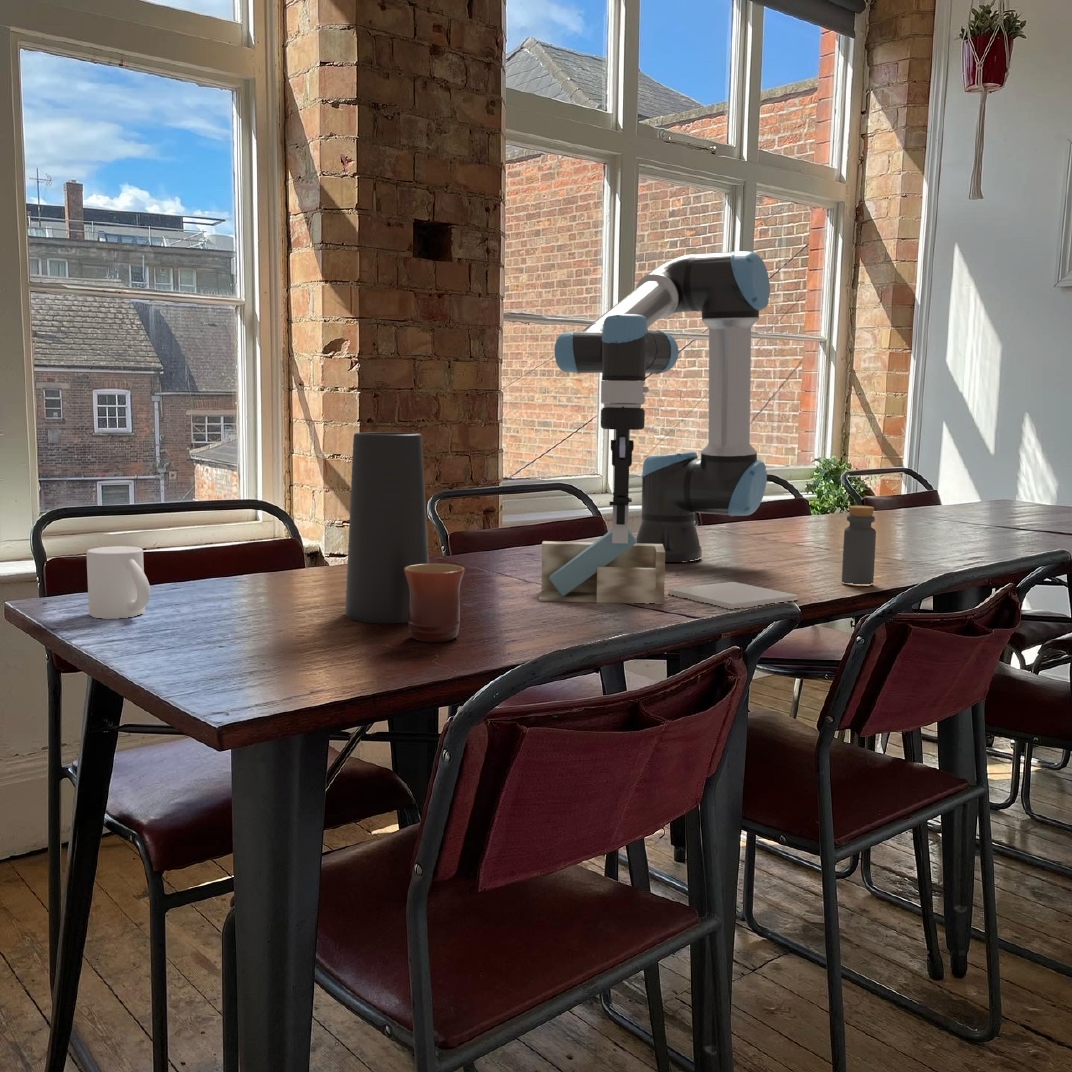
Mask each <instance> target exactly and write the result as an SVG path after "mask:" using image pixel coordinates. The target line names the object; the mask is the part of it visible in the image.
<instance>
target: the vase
mask: <svg viewBox="0 0 1072 1072" xmlns="http://www.w3.org/2000/svg"><path fill="white" fill-rule="evenodd" d="M351 464H352V466H351V482H350V483H351V485H350V487H351V488H350V500H349V501H350V505H349V527H348V545H347V546H348V548H347V549H348V550H347V567H346V591H345V594H346V595H345V617H346V618H347V619H348V620H352V621H354V622H359V623H369V624H404V623H408V608H409V588H408V583H407V580H406V576H405V573H404V568H405V567H407V566H411V565H418V564H430V558H429V540H428V538H429V537H428V523H427V507H426V506H427V505H426V489H425V485H426V484H425V483H426V482H425V471H424V470H425V469H424V468H425V467H424V451H423V436H422V434H421V433H416V432H396V431H395V432H392V431H391V432H387V431H386V432H385V431H384V432H379V431H378V432H377V431H375V432H372V431H371V432H370V431H368V432H356V433H354V434H353V441H352V461H351Z"/></svg>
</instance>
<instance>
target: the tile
mask: <svg viewBox="0 0 1072 1072" xmlns="http://www.w3.org/2000/svg"><path fill="white" fill-rule="evenodd" d="M667 593H668V594H670V595H669V596H672V595H674V597H676V596H677V597H676V598H680V599H684V598H688V599H687V600H689V599H692V600H691V601H693V600H696V601H695V602H697V601H700V602H699V603H701V602H704V603H703V604H705V603H711V604H715V605H718V606H722V607H724V608H723V609H726V608H728V610H730V609H733V610H735V609H734V608H740V607H743V608H742V609H745V608H755V607H759V606H758V605H762V606H766V605H765V604H769V603H775V602H778V601H792V600H790V599H795V598H798V599H799V594H795V593H789V592H784V591H779V590H776V589H775V590H774V589H770V588H765V587H760V586H756V585H751V584H746V583H741V582H739V581H738V582H736V581H728V582H718V583H711V584H702V585H694V586H685V587H684V586H683V587H676V588H675V587H674V588H668V591H667ZM668 594H667V595H668ZM792 602H793V601H792ZM718 606H717V607H718ZM754 606H755V607H754ZM722 607H721V608H722ZM740 609H741V608H740Z"/></svg>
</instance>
